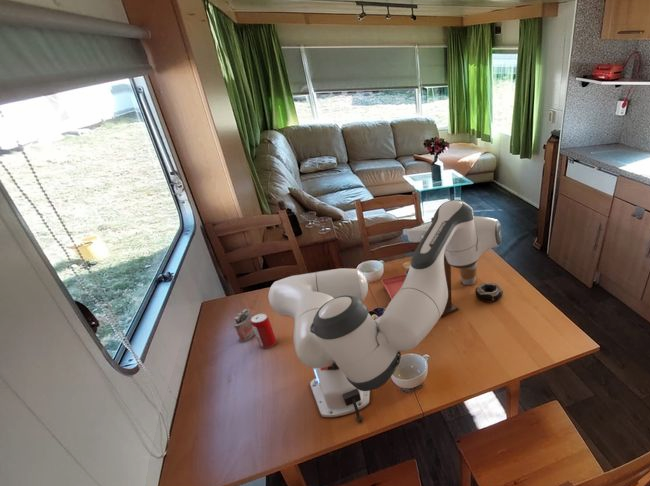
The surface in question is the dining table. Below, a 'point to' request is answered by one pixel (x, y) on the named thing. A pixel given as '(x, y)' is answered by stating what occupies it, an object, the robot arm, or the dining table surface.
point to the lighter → (244, 325)
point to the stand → (449, 306)
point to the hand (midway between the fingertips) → (413, 228)
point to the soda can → (263, 330)
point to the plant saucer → (393, 284)
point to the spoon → (406, 266)
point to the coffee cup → (469, 275)
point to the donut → (489, 292)
